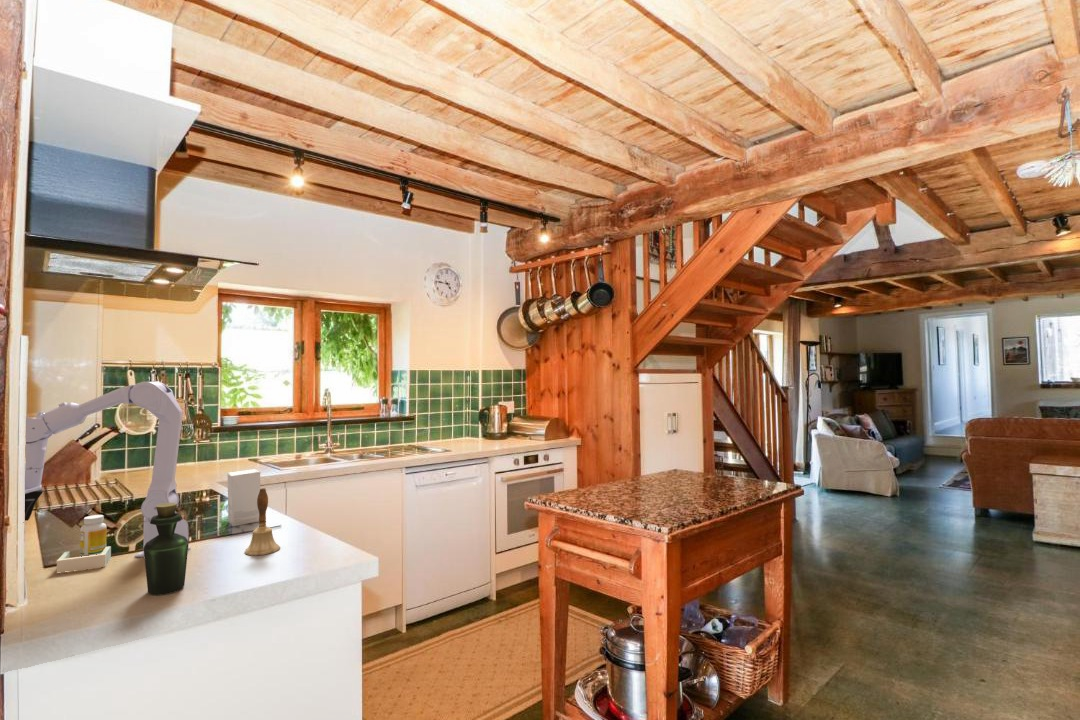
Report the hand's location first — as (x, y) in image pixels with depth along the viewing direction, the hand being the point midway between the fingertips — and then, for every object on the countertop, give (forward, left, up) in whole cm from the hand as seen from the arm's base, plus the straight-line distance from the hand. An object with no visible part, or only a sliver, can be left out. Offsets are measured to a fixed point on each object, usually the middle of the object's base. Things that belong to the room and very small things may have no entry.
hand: (18, 524), depth 136 cm
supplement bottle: (-9, -11, -11) cm, 18 cm away
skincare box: (-28, -44, -11) cm, 53 cm away
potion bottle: (-47, +8, -11) cm, 48 cm away
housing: (-15, -3, -10) cm, 18 cm away
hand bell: (-51, -19, -11) cm, 55 cm away
